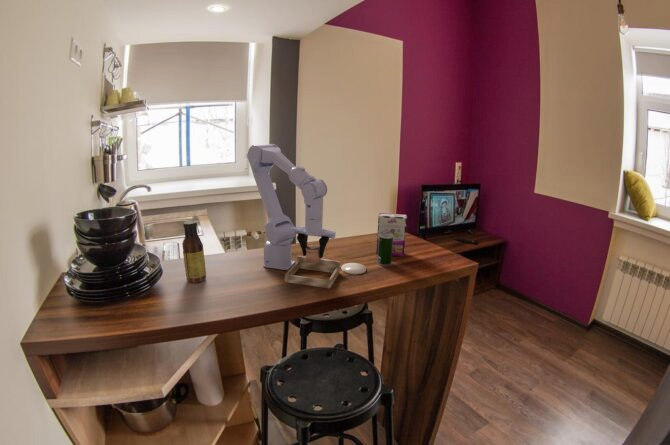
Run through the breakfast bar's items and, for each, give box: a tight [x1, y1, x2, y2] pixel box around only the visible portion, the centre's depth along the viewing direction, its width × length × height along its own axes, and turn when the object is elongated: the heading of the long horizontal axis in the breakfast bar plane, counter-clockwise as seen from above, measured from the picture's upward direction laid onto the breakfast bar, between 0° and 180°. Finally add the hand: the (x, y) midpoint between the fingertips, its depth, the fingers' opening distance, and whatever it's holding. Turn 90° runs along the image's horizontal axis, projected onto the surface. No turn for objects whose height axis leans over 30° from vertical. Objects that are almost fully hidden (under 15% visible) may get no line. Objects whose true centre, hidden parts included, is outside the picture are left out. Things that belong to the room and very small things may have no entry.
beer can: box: [376, 232, 393, 267], centre depth 138 cm, size 5×5×12 cm
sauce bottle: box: [181, 220, 207, 284], centre depth 119 cm, size 7×6×20 cm
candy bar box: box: [375, 212, 408, 257], centre depth 148 cm, size 11×5×16 cm, turn 81°
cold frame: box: [284, 255, 341, 289], centre depth 126 cm, size 16×13×4 cm
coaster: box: [340, 262, 367, 276], centre depth 134 cm, size 9×9×1 cm
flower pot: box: [305, 244, 322, 263], centre depth 124 cm, size 5×5×5 cm
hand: (313, 255), depth 124 cm, fingers closed on flower pot, 5 cm apart
